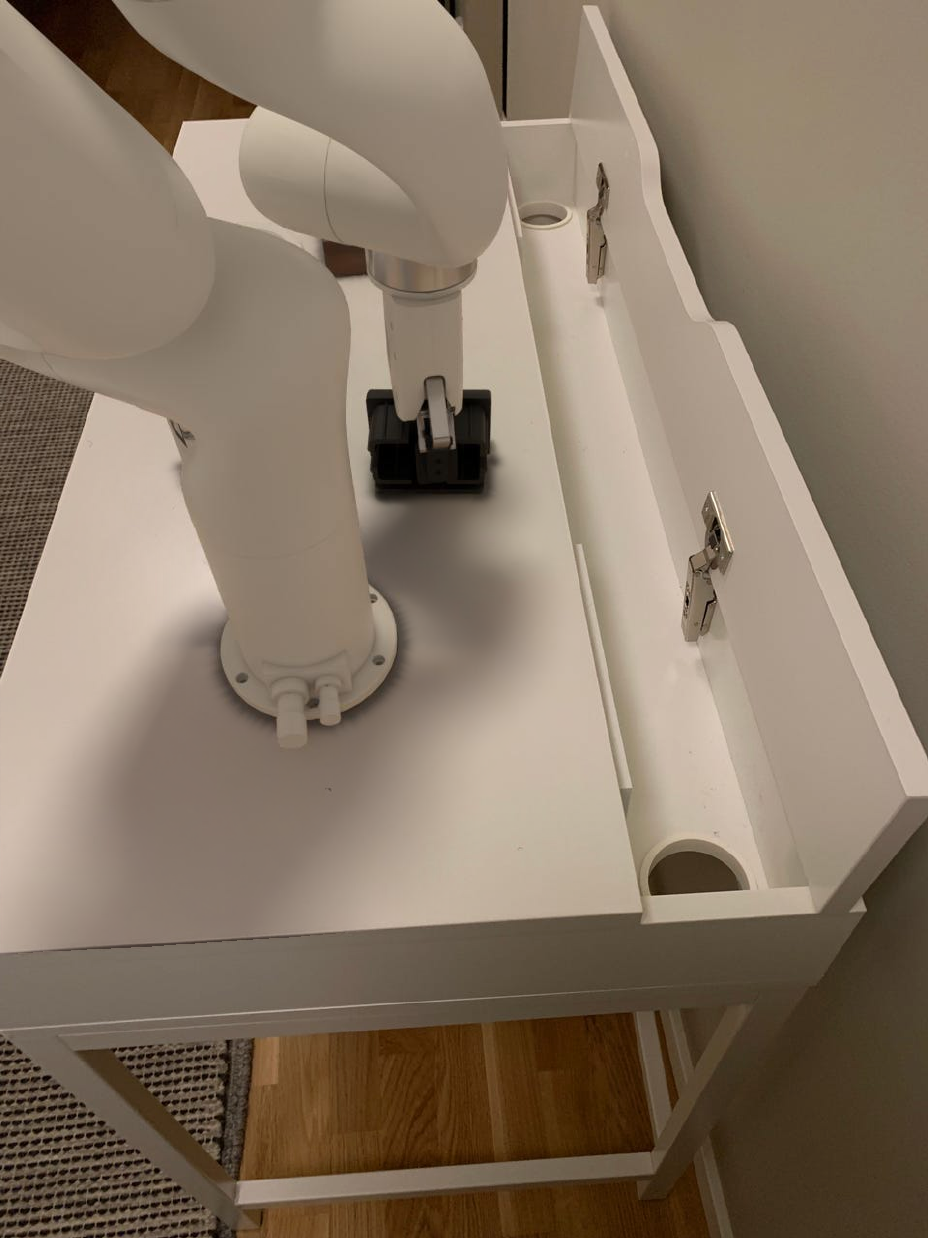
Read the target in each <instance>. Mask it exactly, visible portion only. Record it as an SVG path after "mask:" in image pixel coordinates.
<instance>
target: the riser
mask: <svg viewBox="0 0 928 1238" xmlns="http://www.w3.org/2000/svg"><path fill="white" fill-rule="evenodd" d="M321 243H322V250H323V257H324V258H323V259H324V265H325V266H326V267H327V268H328V269H329V271H330V272H331V273H332V274H333V275H334V277H343V276H344V277H345V276H354V275H366V274H367V275H368V273H367V264H366V256H365V248H361V247H357V246H354V245H352V246H350V245H345V244H341V243H337V242H333V241H329V240H325V239H321Z"/></svg>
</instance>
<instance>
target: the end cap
mask: <svg viewBox="0 0 928 1238" xmlns="http://www.w3.org/2000/svg"><path fill="white" fill-rule="evenodd" d="M445 402H446V400H445ZM365 405H366V416H367V423H368V438H367V448H366V450H367V451H368V452H369V453H370V465H369V471H370V473H371V474H372V477H373V478H372V479H373V481H374V482H375V484H374V486H375V492H377V494H380V495H481V494H482V493H484V491H485V480H486V479H485V478H486V474H487V473H488V470H489V465H488V464H489V459H488V456H489V455H490V453H491V432H492V431H491V427H492V391H491V390H490V389H487V388H485V389H483V388H481V389H478V388H477V389H476V388H475V389H470V388H469V389H468V388H467V389H464V388H463V399H462V409H461V411H460V412H459V413H458V414H457V415H456V416H454V413H453V420H454V432H455V439H456V440H457V467H458V478H457V479H456V480H455V481H448V482H439V483H431V484H419V483H418V479H417V468H416V453H415V443H418V434H417V424H416V419H415V420H408V421H402V420H401V419H400V418H399V417H398V416H397V413H396V408H395V402H394V396H393V390H392V388H370V389H368V391H367V393H366V396H365ZM423 408H428V404H427V400H424V402H423V404H422V407H421V409H423ZM424 427H425V436H427V435H431V433H430V432H431V428H430V419H429V418H428V419H424Z"/></svg>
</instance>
